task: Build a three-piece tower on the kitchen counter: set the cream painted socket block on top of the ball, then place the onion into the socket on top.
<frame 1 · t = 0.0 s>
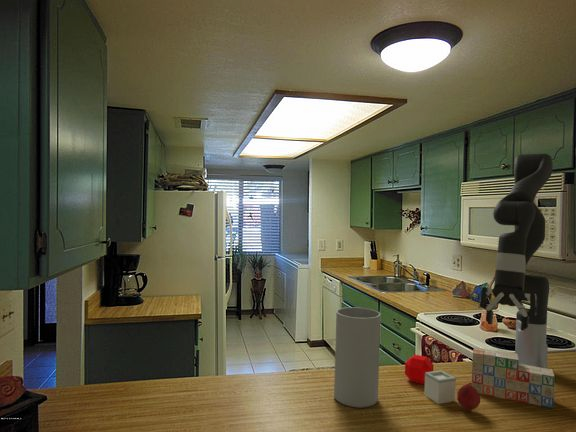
hand: (506, 327, 118), 22 cm above the countertop, tool pointing down, fingers open, 8 cm apart
socket block: (439, 398, 122), on the countertop
onion: (468, 411, 115), on the countertop
cylinder vase: (355, 399, 120), on the countertop
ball: (418, 381, 134), on the countertop
stack of blocks: (510, 396, 125), on the countertop
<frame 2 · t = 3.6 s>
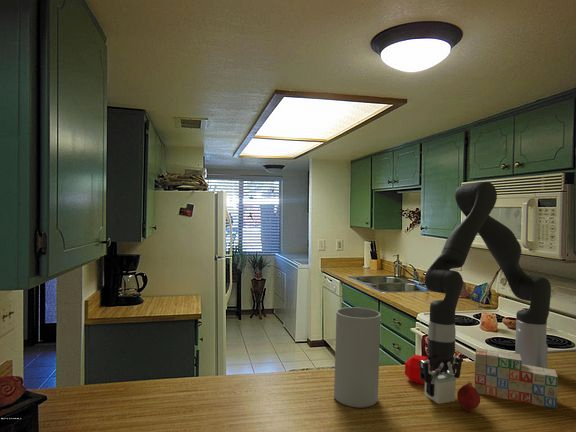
hand: (439, 393, 122), 1 cm above the countertop, tool pointing down, fingers closed on socket block, 6 cm apart
socket block: (439, 397, 122), on the countertop, touching gripper
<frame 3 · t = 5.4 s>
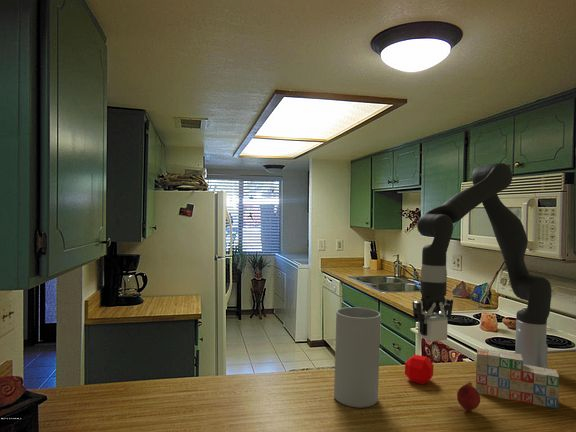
hand: (432, 333, 128), 17 cm above the countertop, tool pointing down, fingers closed on socket block, 6 cm apart
socket block: (432, 337, 128), point 16 cm above the countertop, touching gripper
when the fingers open (10 cm above the countertop, at t = 7.6 s): socket block drops 1 cm, resting on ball.
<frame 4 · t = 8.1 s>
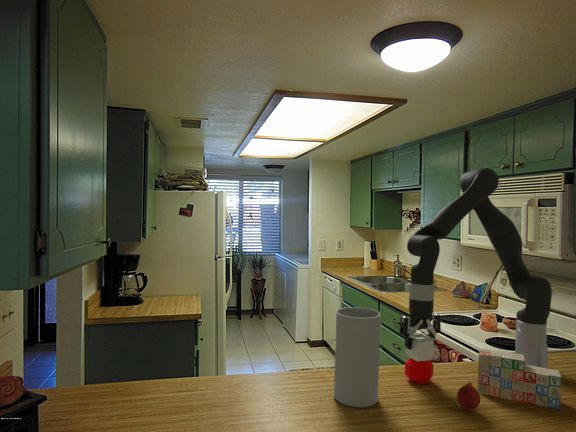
hand: (419, 347, 134), 11 cm above the countertop, tool pointing down, fingers open, 8 cm apart
socket block: (419, 357, 134), point 8 cm above the countertop, touching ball
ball: (418, 381, 134), on the countertop, touching socket block
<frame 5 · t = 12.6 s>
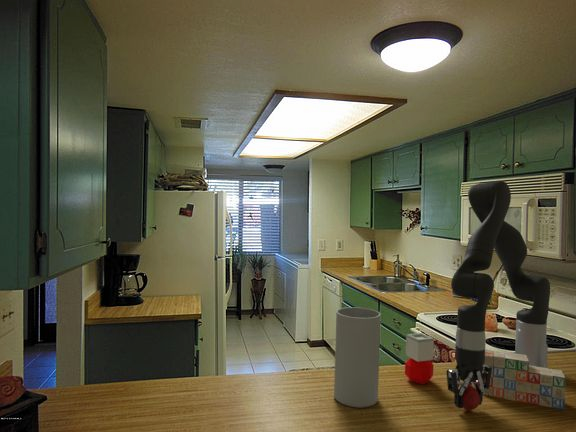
hand: (468, 405, 115), 2 cm above the countertop, tool pointing down, fingers closed on onion, 6 cm apart
onion: (468, 411, 115), on the countertop, touching gripper
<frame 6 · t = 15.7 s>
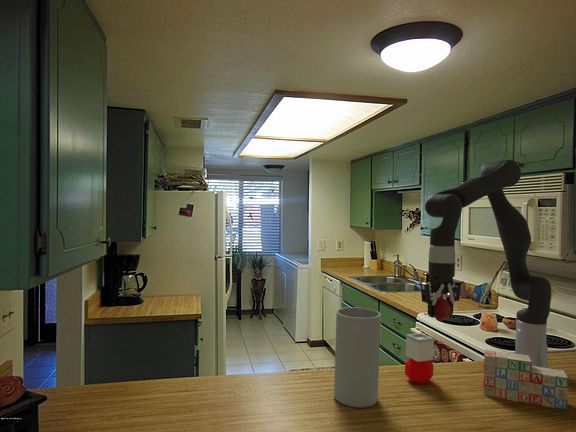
hand: (440, 315, 126), 23 cm above the countertop, tool pointing down, fingers closed on onion, 6 cm apart
onion: (440, 321, 126), point 21 cm above the countertop, touching gripper
when the fingers open (16 cm above the countertop, at t = 18.5 s): onion stays where it is, resting on socket block.
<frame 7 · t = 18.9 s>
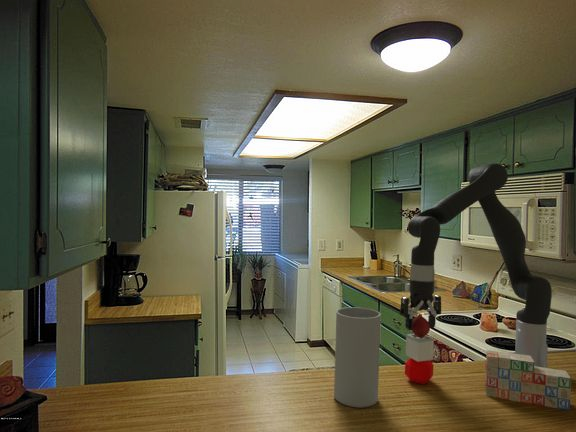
hand: (420, 328, 134), 17 cm above the countertop, tool pointing down, fingers open, 8 cm apart
socket block: (419, 357, 134), point 8 cm above the countertop, touching onion, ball
onion: (421, 338, 134), point 14 cm above the countertop, touching socket block
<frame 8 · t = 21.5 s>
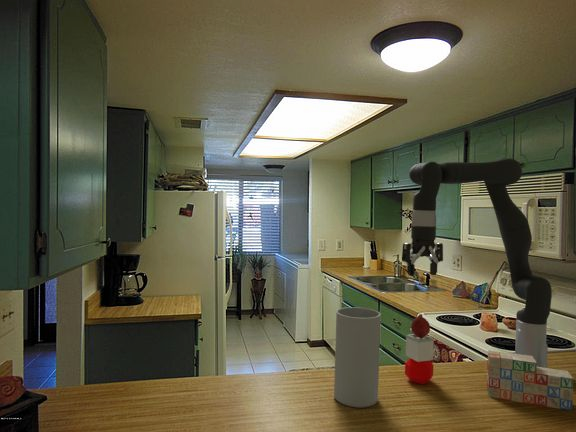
hand: (422, 275, 134), 34 cm above the countertop, tool pointing down, fingers open, 8 cm apart
at the end: socket block 0.1 cm off-centre on the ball, point 7.8 cm above the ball's base; onion 0.5 cm off-centre on the socket block, point 5.9 cm above the socket block's base; the gripper is holding nothing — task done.
